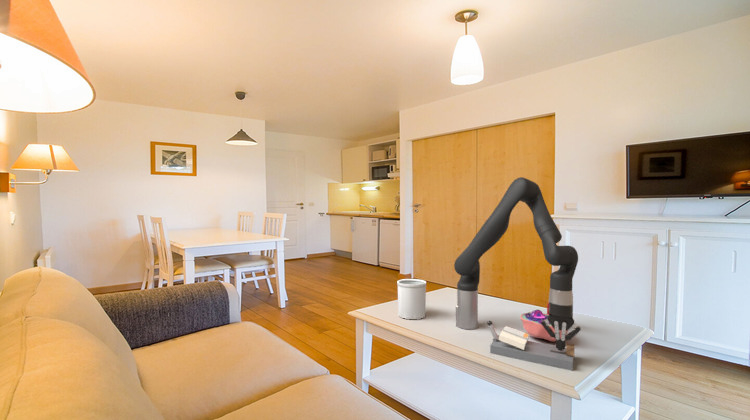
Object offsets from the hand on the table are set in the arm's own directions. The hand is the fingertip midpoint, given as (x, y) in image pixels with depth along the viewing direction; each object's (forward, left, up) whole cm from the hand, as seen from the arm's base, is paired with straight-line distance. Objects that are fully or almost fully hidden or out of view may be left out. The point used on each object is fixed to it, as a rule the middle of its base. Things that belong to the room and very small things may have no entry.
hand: (560, 349), depth 123 cm
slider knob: (+3, 0, -1) cm, 3 cm away
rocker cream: (-15, -3, +1) cm, 16 cm away
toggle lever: (-22, 0, -1) cm, 22 cm away
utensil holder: (-68, +20, -4) cm, 71 cm away
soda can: (-4, +38, -4) cm, 38 cm away
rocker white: (-15, +3, +1) cm, 16 cm away
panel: (-9, 0, -4) cm, 10 cm away
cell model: (-7, +21, -4) cm, 22 cm away
